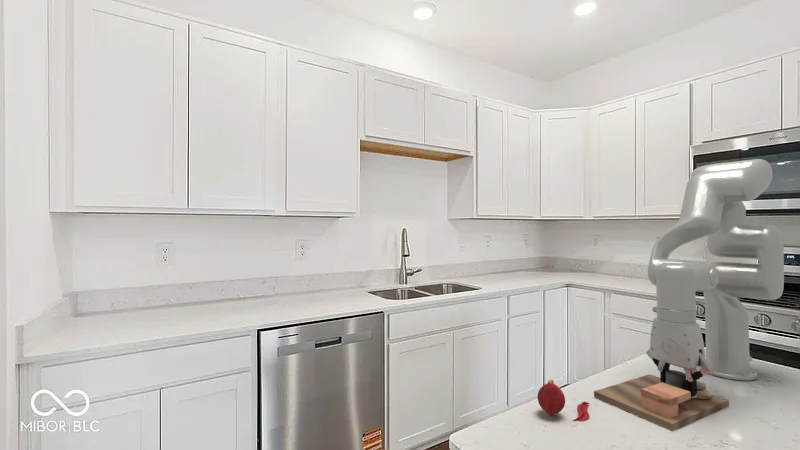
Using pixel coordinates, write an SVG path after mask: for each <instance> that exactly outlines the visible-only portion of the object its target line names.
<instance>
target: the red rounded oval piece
mask: <svg viewBox="0 0 800 450" xmlns="http://www.w3.org/2000/svg"><path fill="white" fill-rule="evenodd" d="M554 381H555V380H554V379H553V378H550V379H548V382H547V383H545V384H543V385H542V386H541V387H540V388H539V390H538V392H537V402H538V405H539V407H540V409H542V410H543V411H544V412H545V413H546V414H548V415H549V416H551V417H553V416H555V415H557V414H559V413H560V412H562V411H563V409H564V407H565V406H566V405H565V404H566V397H565V394H564V392H563V390H562V389H561V388H560V387H559V386H558V385H556V384H555V383H554Z"/></svg>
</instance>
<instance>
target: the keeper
mask: <svg viewBox="0 0 800 450" xmlns="http://www.w3.org/2000/svg"><path fill="white" fill-rule="evenodd" d="M641 399H642V407H643V408H646V409H648V410H651V411H653V412H656V413H658V414H661V415H663V416H665V417H668V418H673V417H675V416H678V403H681V402H683V401H686V400H689V399H691V392H690V391H687V390H684V389H681V388H678V387H675V386H672V385H669V384H665V383H662V382H661V383H658V384H655V385H652V386H649V387H646V388H643V389H641Z"/></svg>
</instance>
